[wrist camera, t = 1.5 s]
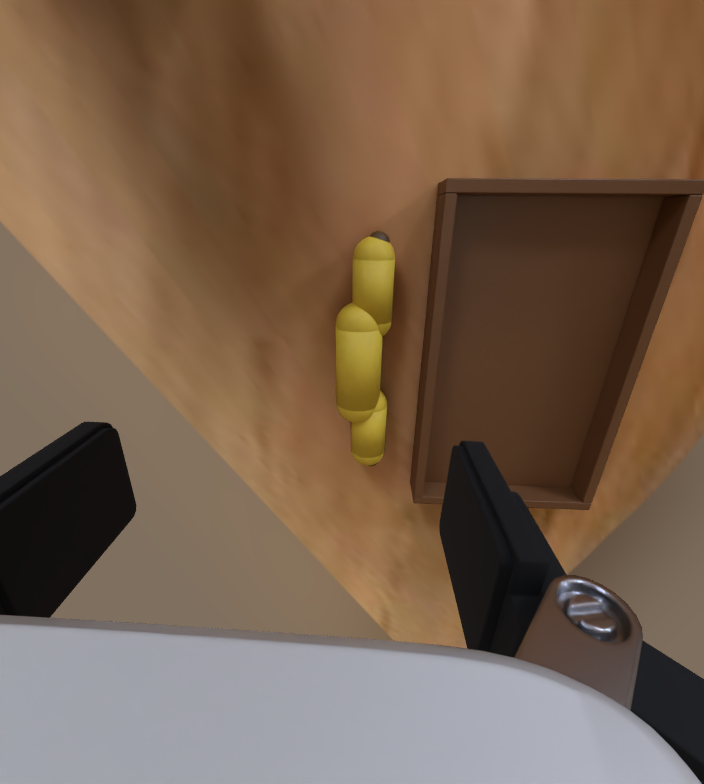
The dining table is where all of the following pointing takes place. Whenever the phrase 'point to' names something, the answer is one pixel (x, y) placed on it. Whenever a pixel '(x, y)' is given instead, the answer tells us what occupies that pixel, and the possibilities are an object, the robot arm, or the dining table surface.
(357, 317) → the banana
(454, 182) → the tray
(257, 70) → the dining table surface
